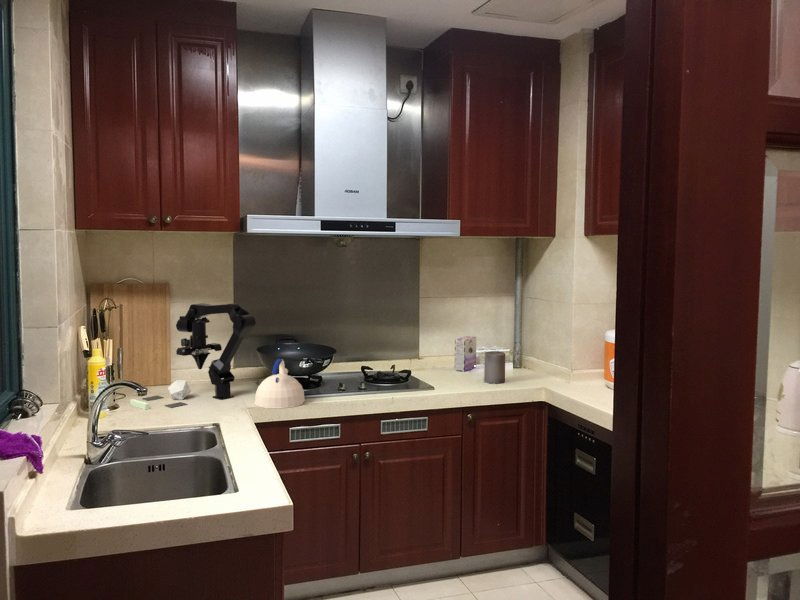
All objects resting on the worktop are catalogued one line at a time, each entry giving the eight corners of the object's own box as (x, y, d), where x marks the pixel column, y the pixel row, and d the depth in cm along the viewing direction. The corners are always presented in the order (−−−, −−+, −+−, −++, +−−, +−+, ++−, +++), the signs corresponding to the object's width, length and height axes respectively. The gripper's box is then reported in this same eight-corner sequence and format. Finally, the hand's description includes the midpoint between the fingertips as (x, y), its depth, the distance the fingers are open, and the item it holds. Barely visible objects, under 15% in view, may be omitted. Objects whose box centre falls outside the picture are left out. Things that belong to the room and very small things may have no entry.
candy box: (466, 366, 340) (466, 335, 339) (476, 367, 337) (476, 336, 335) (454, 370, 328) (454, 338, 327) (464, 372, 325) (464, 339, 324)
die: (170, 403, 263) (185, 385, 263) (160, 391, 267) (174, 372, 267) (184, 406, 270) (198, 388, 270) (173, 394, 274) (187, 376, 274)
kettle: (309, 396, 273) (308, 354, 271) (300, 409, 252) (299, 363, 251) (261, 396, 273) (260, 354, 272) (248, 409, 253) (247, 363, 251)
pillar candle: (501, 379, 307) (501, 348, 306) (507, 383, 298) (508, 351, 297) (481, 380, 306) (481, 348, 304) (487, 384, 296) (488, 352, 295)
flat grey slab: (187, 404, 259) (187, 399, 259) (152, 411, 248) (152, 406, 247) (157, 396, 274) (157, 391, 273) (123, 402, 262) (123, 397, 262)
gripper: (207, 329, 287) (208, 363, 288) (168, 333, 272) (169, 370, 274) (222, 331, 279) (222, 366, 281) (183, 336, 265) (184, 373, 267)
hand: (200, 369), depth 276 cm, fingers closed
